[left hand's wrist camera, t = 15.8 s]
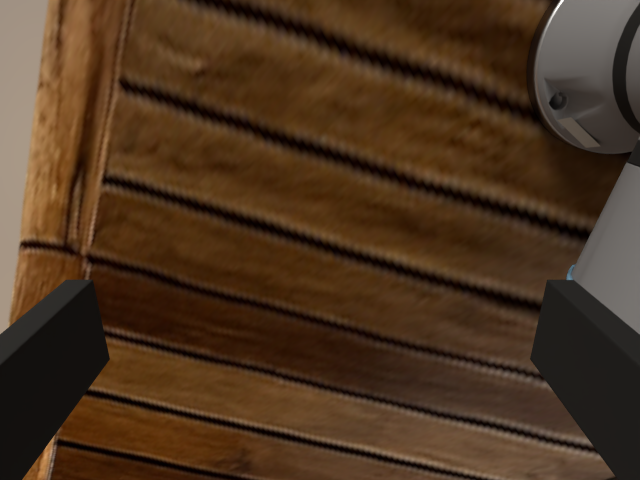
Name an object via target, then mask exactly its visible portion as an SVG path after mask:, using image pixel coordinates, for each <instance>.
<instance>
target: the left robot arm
mask: <svg viewBox="0 0 640 480" xmlns="http://www.w3.org/2000/svg"><path fill="white" fill-rule="evenodd" d="M527 86H528V92H529V97H530V100H531V104H532V106H533V109H534V111H535V113H536V115H537V117H538V118H539V120H540V121H541V123H542V124H543V125H544V127H545V128H546V129H547V130H548V131H549V132H550V133H551V134H553V135H554V136H555V137H556V138H558V139H559V140H561V141H563V142H565V143H567V144H569V145H572V146H574V147H577V148H581V149H584V150H587V151H591V152H596V153H604V154H617V153H625V152H631V151H632V153H631V155H630V157H629V159H628V161H627V162H626V164H625V166H624V168H623V170H622V172H621V174H620V176H619V178H618V180H617V182H616V184H615V186H614V188H613V190H612V192H611V194H610V196H609V198H608V200H607V202H606V204H605V206H604V208H603V210H602V212H601V214H600V216H599V218H598V220H597V222H596V224H595V226H594V228H593V230H592V232H591V234H590V236H589V238H588V240H587V242H586V244H585V246H584V248H583V251H582V253H581V255H580V257H579V259H578V261H577V263H576V264H575V265H572V266H571V268H570V269H569V271H568V274H567V277H566V280H547V283H546V288H545V293H544V297H543V302H542V307H541V311H540V316H539V321H538V325H537V330H536V335H535V339H534V344H533V349H532V353H531V358H530V359H531V361H532V362H533V364H534V365H535V366H536V368H537V369H538V370H539V372H540V373H541V375H542V376H543V377H544V379H545V380H546V381H547V383H548V384H549V386H550V387H551V388H552V390H553V391H554V392H555V394H556V395H557V397H558V398H559V399H560V401H561V402H562V403H563V405H564V406H565V408H566V409H567V410H568V412H569V413H570V414H571V416H572V417H573V419H574V420H575V421H576V423H577V424H578V425H579V427H580V428H581V430H582V431H583V432H584V434H585V435H586V436H587V438H588V439H589V441H590V442H591V443H592V445H593V446H594V447H595V449H596V450H597V452H598V453H599V454H600V456H601V457H602V458H603V460H604V461H605V463H606V464H607V465H608V467H609V468H610V469H611V471H612V472H613V474H614V475H615V476H616V478H617V479H618V480H640V0H553V2H552V3H551V4H550V6H549V7H548V9H547V10H546V12H545V14H544V15H543V17H542V19H541V21H540V23H539V25H538V27H537V29H536V32H535V35H534V37H533V40H532V43H531V47H530V51H529V56H528V63H527ZM109 359H110V358H109V353H108V349H107V344H106V339H105V335H104V330H103V325H102V321H101V316H100V311H99V307H98V302H97V297H96V293H95V288H94V283H93V280H66V281H64V282H63V283H62V284H61V285H59V286H58V287H57V288H56V289H55V290H53V291H52V292H51V293H50V294H49V295H47V296H46V297H45V298H44V299H43V300H41V301H40V302H39V303H38V304H36V305H35V306H34V307H33V308H32V309H30V310H29V311H28V312H27V313H26V314H24V315H23V316H22V317H21V318H20V319H18V320H17V321H16V322H15V323H14V324H12V325H11V326H10V327H9V328H7V329H6V330H5V331H4V332H3V333H1V334H0V480H22V479H23V478H24V476H25V475H26V474H27V472H28V471H29V469H30V468H31V467H32V465H33V464H34V463H35V461H36V460H37V458H38V457H39V456H40V454H41V453H42V452H43V450H44V449H45V447H46V446H47V445H48V443H49V442H50V441H51V439H52V438H53V436H54V435H55V434H56V432H57V431H58V430H59V428H60V427H61V425H62V424H63V423H64V421H65V420H66V419H67V417H68V416H69V414H70V413H71V412H72V410H73V409H74V408H75V406H76V405H77V403H78V402H79V401H80V399H81V398H82V397H83V395H84V394H85V392H86V391H87V390H88V388H89V387H90V386H91V384H92V383H93V381H94V380H95V379H96V377H97V376H98V375H99V373H100V372H101V370H102V369H103V368H104V366H105V365H106V364H107V362H108V361H109Z"/></svg>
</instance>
